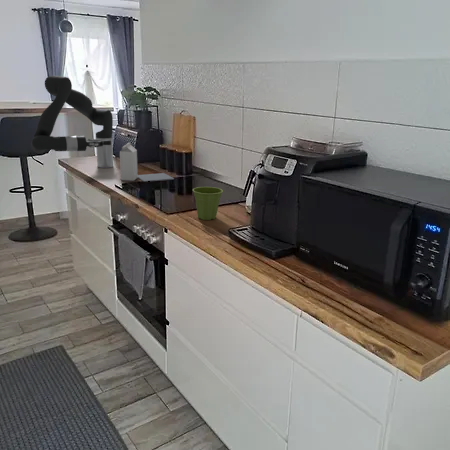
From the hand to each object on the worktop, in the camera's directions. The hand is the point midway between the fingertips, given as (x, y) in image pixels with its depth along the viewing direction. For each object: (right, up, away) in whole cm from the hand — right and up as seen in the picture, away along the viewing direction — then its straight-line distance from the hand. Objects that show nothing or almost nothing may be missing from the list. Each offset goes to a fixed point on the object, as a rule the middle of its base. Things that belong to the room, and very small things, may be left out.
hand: (110, 142), depth 224 cm
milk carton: (+7, -18, +11) cm, 22 cm away
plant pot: (+51, -39, -49) cm, 81 cm away
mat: (+20, -16, +16) cm, 30 cm away
